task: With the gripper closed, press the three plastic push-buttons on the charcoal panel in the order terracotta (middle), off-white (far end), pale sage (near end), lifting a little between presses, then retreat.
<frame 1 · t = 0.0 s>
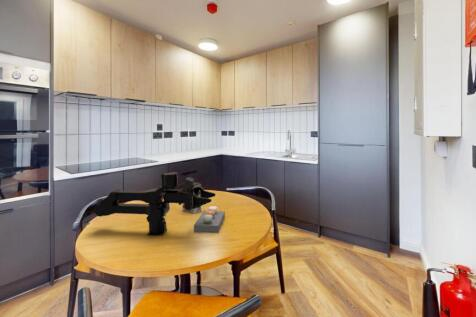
hand: (213, 197, 108), 17 cm above the table, tool horizontal, fingers open, 9 cm apart
button panel: (210, 224, 122), on the table
button offwhite: (213, 209, 127), point 5 cm above the table, slide at 0.0 cm
coffee box: (191, 211, 142), on the table
button sage: (207, 218, 115), point 5 cm above the table, slide at 0.0 cm
button terracotta: (210, 213, 121), point 5 cm above the table, slide at 0.0 cm
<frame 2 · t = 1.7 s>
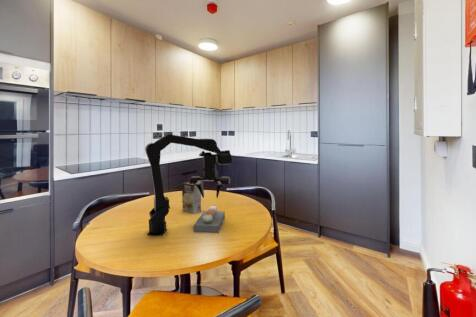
hand: (210, 197, 120), 13 cm above the table, tool pointing down, fingers open, 6 cm apart
nothing on the table moved.
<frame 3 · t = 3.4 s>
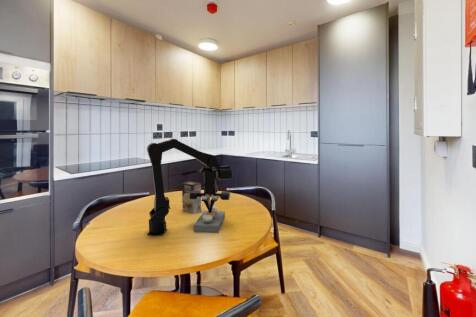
hand: (210, 212, 121), 6 cm above the table, tool pointing down, fingers closed, pressing on button terracotta
button terracotta: (210, 214, 121), point 5 cm above the table, slide at 0.6 cm, touching gripper
everything else where it was.
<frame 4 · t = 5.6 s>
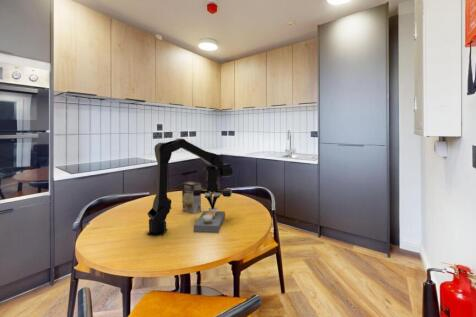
hand: (212, 208, 127), 6 cm above the table, tool pointing down, fingers closed, pressing on button offwhite
button offwhite: (213, 210, 128), point 5 cm above the table, slide at 0.7 cm, touching gripper
button terracotta: (210, 214, 121), point 5 cm above the table, slide at 0.7 cm
everything else where it was.
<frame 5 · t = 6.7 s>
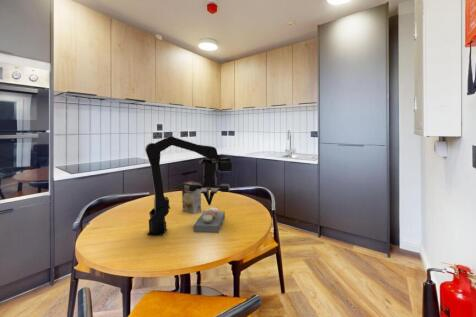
hand: (209, 205, 120), 10 cm above the table, tool pointing down, fingers closed
button offwhite: (213, 210, 128), point 5 cm above the table, slide at 0.7 cm
everything else where it was.
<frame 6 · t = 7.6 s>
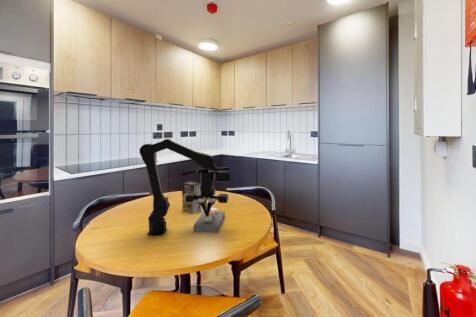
hand: (207, 216, 114), 6 cm above the table, tool pointing down, fingers closed, pressing on button sage
button sage: (207, 218, 115), point 5 cm above the table, slide at 0.1 cm, touching gripper
everything else where it was.
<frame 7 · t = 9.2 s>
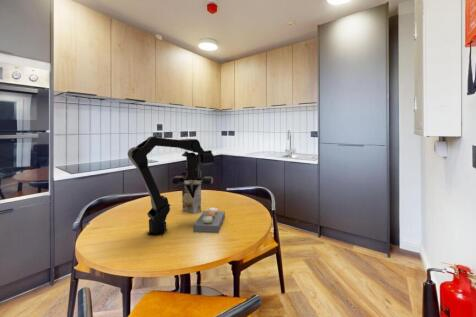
hand: (193, 197, 121), 13 cm above the table, tool pointing down, fingers closed
button sage: (207, 219, 115), point 5 cm above the table, slide at 0.7 cm
everything else where it was.
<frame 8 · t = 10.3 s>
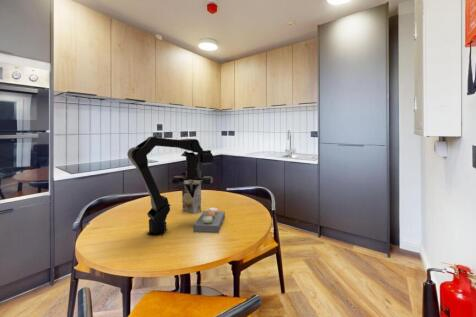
hand: (192, 197, 121), 13 cm above the table, tool pointing down, fingers closed
nothing on the table moved.
at the end: button terracotta slide at 0.7 cm; button offwhite slide at 0.7 cm; button sage slide at 0.7 cm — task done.
